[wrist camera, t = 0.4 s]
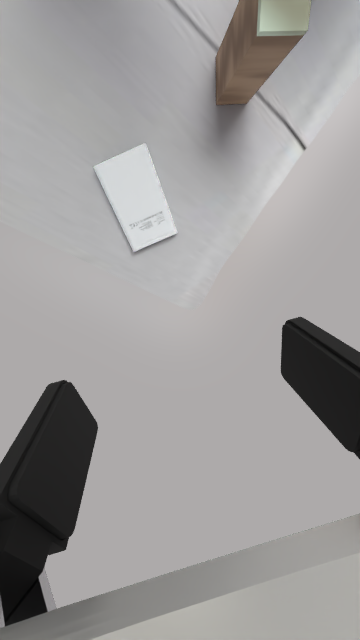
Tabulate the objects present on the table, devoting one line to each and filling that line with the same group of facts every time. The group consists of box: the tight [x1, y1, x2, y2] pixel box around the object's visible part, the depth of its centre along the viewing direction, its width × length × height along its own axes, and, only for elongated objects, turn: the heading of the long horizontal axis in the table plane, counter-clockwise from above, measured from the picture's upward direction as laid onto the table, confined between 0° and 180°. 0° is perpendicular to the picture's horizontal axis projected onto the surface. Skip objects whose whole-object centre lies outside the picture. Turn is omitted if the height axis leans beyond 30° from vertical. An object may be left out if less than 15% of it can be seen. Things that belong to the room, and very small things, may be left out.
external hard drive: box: [93, 143, 177, 252], centre depth 31 cm, size 2×8×12 cm
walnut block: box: [216, 0, 311, 105], centre depth 22 cm, size 4×4×12 cm
